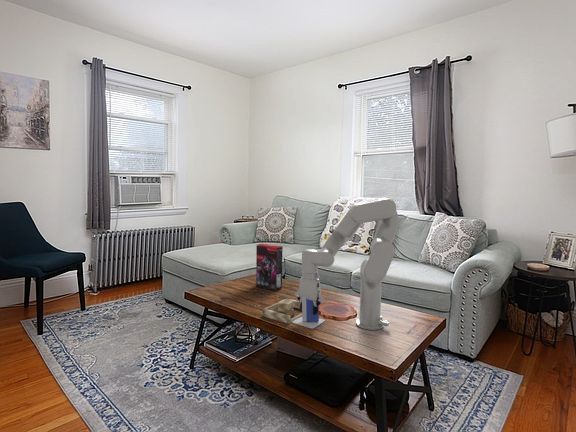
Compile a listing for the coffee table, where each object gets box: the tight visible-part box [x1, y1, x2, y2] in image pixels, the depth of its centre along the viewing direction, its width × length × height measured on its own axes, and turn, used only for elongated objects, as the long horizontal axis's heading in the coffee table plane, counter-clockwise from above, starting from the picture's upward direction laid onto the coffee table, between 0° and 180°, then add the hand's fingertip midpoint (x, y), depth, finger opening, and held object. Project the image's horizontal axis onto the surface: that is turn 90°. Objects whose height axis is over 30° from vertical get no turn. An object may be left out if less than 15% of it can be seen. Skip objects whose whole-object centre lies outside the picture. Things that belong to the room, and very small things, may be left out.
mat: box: [290, 316, 326, 330], centre depth 167 cm, size 12×12×1 cm
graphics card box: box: [255, 243, 284, 291], centre depth 221 cm, size 17×7×27 cm, turn 54°
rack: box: [262, 298, 302, 324], centre depth 177 cm, size 16×21×4 cm
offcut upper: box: [277, 298, 294, 313], centre depth 171 cm, size 6×6×4 cm
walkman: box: [301, 297, 320, 321], centre depth 166 cm, size 8×3×12 cm, turn 87°
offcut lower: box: [276, 308, 295, 318], centre depth 172 cm, size 6×6×4 cm
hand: (309, 312), depth 166 cm, fingers closed on walkman, 6 cm apart
